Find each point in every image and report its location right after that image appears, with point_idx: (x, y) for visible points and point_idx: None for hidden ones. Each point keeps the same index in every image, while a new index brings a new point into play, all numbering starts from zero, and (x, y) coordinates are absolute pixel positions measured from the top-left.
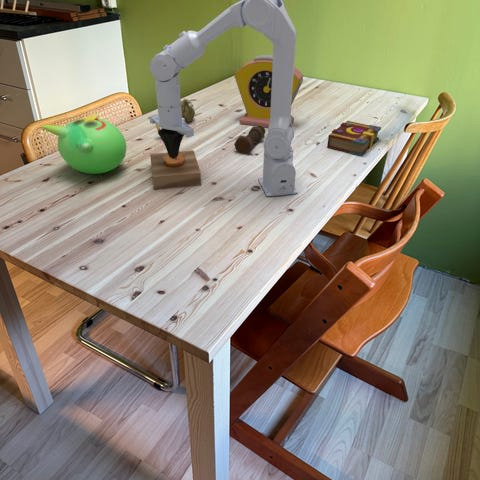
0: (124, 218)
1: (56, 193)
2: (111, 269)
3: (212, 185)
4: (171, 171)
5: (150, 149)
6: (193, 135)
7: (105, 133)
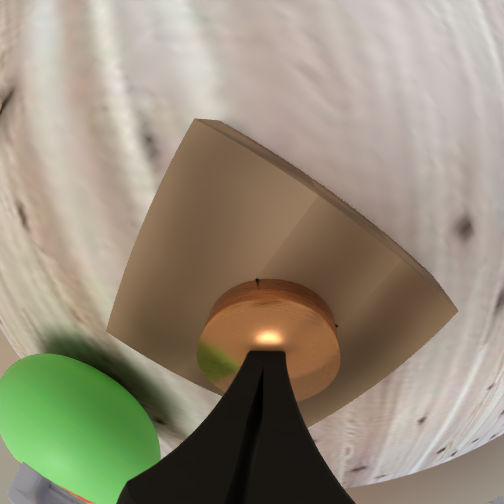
0: (348, 449)
1: (172, 449)
2: (411, 465)
3: (466, 244)
4: (334, 384)
5: (25, 211)
6: (499, 499)
7: (103, 499)
